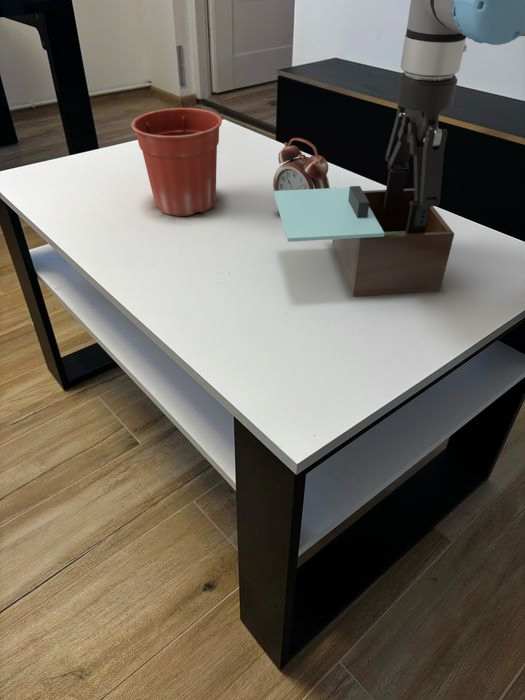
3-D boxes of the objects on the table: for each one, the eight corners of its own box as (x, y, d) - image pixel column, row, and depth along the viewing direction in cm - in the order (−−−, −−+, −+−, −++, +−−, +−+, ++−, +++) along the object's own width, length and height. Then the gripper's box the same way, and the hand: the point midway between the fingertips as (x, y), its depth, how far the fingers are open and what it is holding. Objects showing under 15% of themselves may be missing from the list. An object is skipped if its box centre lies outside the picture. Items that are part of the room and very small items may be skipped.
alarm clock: (271, 213, 106) (271, 135, 96) (288, 205, 108) (290, 128, 99) (313, 232, 100) (318, 150, 90) (329, 223, 102) (336, 143, 93)
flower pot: (133, 196, 112) (119, 115, 101) (206, 180, 118) (200, 102, 107) (161, 229, 101) (149, 142, 90) (240, 210, 107) (237, 126, 96)
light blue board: (384, 236, 78) (387, 217, 76) (287, 242, 76) (288, 222, 74) (357, 190, 90) (359, 172, 88) (273, 194, 89) (274, 176, 87)
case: (440, 291, 85) (454, 233, 78) (352, 296, 84) (360, 238, 77) (408, 241, 97) (419, 188, 91) (332, 245, 96) (336, 191, 89)
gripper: (493, 97, 63) (451, 261, 77) (427, 53, 81) (403, 193, 95) (431, 99, 62) (400, 264, 77) (378, 54, 80) (361, 195, 94)
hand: (401, 225), depth 86 cm, fingers open, 11 cm apart
